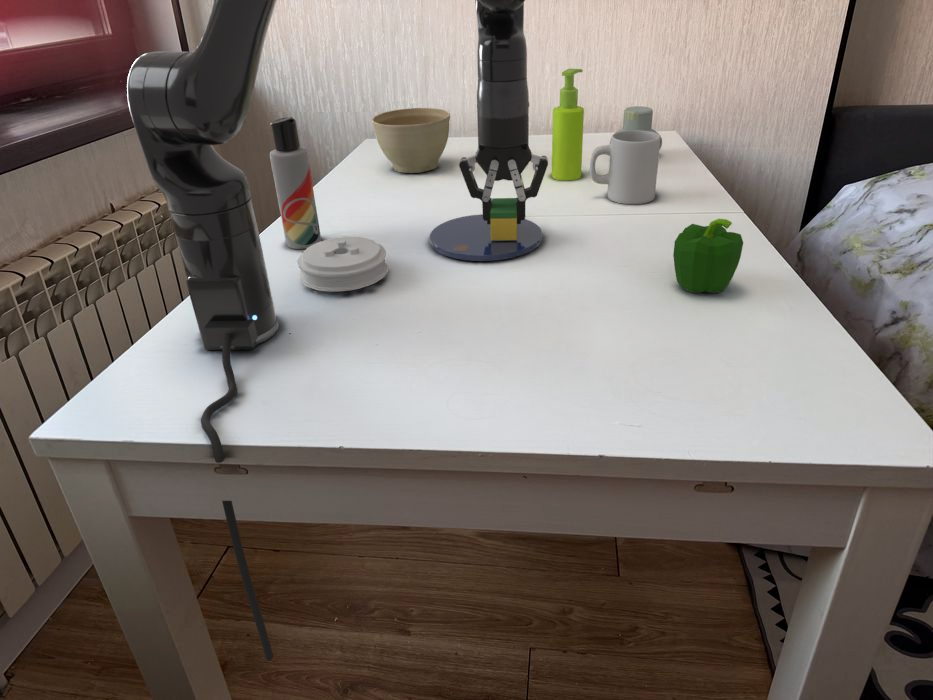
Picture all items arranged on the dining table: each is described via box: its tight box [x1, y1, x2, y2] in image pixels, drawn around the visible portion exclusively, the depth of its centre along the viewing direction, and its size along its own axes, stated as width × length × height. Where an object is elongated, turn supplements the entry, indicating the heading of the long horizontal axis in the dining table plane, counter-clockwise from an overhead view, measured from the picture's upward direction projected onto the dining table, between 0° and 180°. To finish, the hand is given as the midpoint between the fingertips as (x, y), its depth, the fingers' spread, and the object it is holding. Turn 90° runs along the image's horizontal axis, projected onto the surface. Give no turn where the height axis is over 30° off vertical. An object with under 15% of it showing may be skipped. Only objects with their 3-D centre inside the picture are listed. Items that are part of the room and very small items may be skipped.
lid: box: [297, 236, 389, 293], centre depth 100 cm, size 13×13×5 cm
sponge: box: [490, 197, 518, 241], centre depth 110 cm, size 7×4×4 cm, turn 176°
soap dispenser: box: [551, 68, 585, 182], centre depth 135 cm, size 6×7×20 cm
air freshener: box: [609, 105, 663, 151], centre depth 147 cm, size 11×8×10 cm
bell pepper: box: [672, 218, 744, 294], centre depth 92 cm, size 8×8×10 cm
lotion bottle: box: [269, 116, 322, 250], centre depth 109 cm, size 6×6×20 cm
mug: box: [589, 130, 661, 205], centre depth 125 cm, size 12×8×11 cm
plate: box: [429, 213, 543, 262], centre depth 112 cm, size 18×18×1 cm
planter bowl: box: [371, 107, 451, 174], centre depth 147 cm, size 16×16×11 cm
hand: (504, 222), depth 110 cm, fingers closed on sponge, 4 cm apart
